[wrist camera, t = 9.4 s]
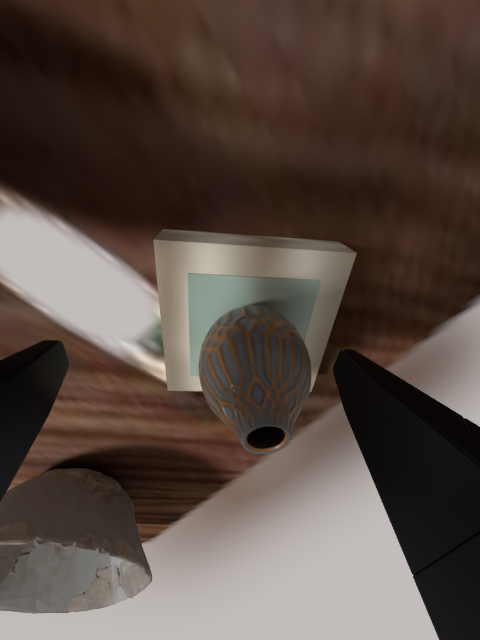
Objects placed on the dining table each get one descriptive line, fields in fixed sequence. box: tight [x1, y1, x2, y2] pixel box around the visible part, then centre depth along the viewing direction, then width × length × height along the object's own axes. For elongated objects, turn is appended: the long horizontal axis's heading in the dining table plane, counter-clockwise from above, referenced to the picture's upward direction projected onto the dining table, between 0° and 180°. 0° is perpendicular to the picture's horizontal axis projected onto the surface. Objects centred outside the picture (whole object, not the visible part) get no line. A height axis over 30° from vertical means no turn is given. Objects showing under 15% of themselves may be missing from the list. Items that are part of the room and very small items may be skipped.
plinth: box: [154, 229, 357, 392], centre depth 20 cm, size 13×13×3 cm
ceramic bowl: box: [0, 468, 152, 613], centre depth 30 cm, size 22×23×10 cm
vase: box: [199, 306, 311, 454], centre depth 15 cm, size 7×7×9 cm
